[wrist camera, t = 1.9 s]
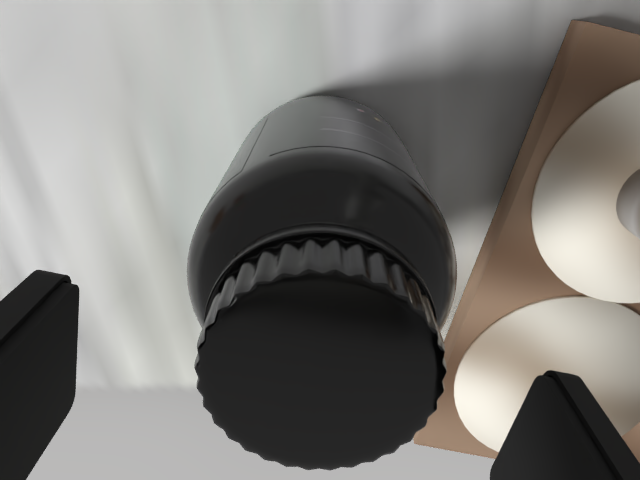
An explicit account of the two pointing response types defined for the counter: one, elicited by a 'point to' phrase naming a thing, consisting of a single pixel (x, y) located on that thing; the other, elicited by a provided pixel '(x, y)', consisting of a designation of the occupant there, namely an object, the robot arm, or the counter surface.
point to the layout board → (557, 258)
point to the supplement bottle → (321, 289)
